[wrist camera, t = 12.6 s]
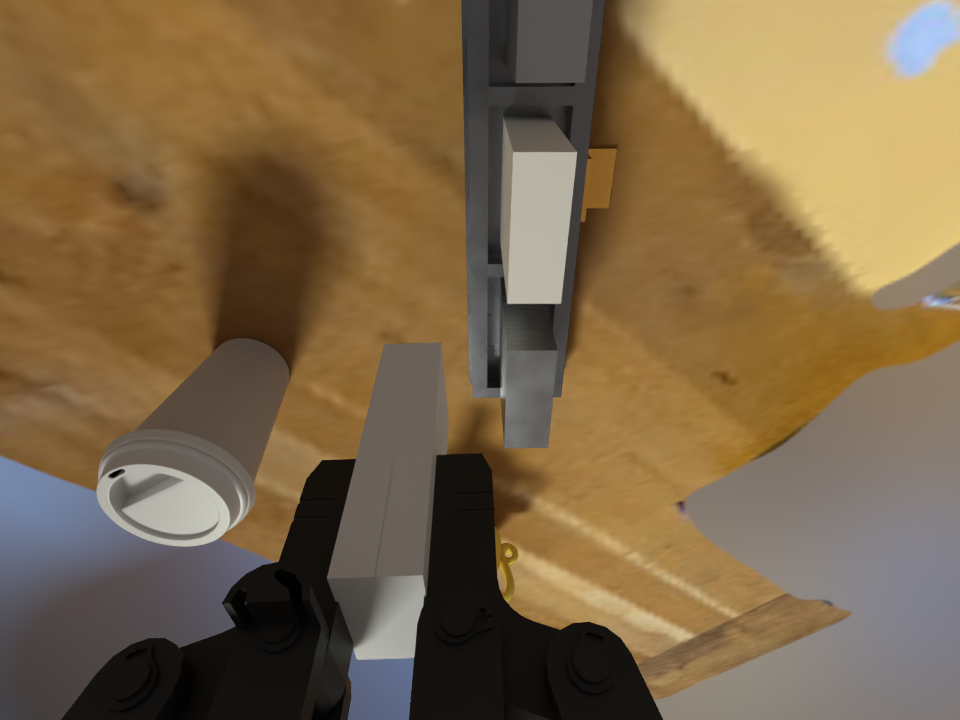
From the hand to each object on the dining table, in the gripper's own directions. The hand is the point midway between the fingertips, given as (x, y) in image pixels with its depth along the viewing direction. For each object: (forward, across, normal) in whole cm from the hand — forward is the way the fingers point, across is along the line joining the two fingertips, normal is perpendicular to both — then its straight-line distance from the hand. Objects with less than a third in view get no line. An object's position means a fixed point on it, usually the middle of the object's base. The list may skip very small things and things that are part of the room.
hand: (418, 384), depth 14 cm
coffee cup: (+25, -18, -17) cm, 35 cm away
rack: (+25, +6, -2) cm, 26 cm away
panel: (+24, +5, -2) cm, 24 cm away
